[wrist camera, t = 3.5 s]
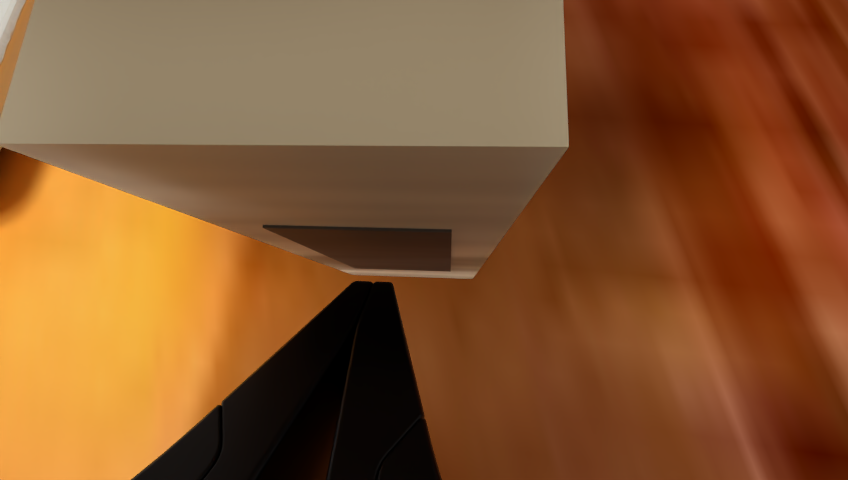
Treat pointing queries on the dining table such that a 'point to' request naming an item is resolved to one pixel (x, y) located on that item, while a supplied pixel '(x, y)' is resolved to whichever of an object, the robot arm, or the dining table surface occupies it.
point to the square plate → (11, 40)
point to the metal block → (306, 118)
